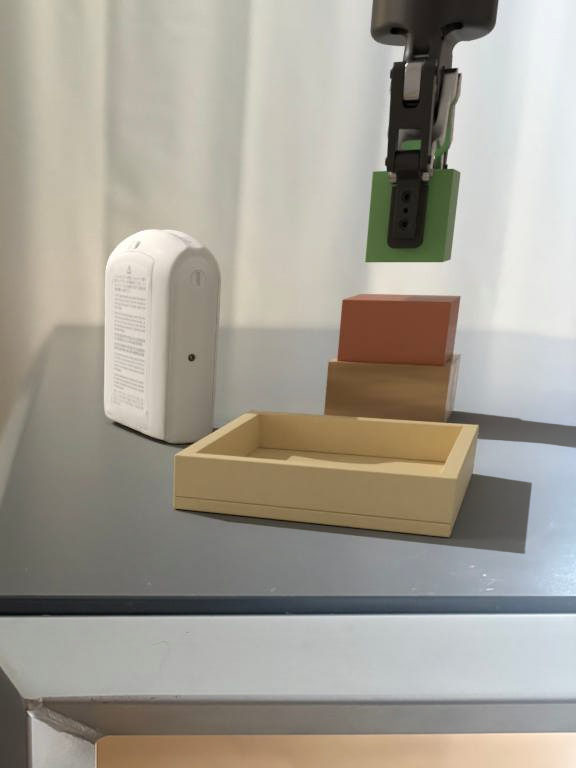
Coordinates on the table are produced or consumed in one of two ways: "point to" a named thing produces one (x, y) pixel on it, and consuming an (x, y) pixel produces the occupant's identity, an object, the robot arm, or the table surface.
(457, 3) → the robot arm
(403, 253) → the green block
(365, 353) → the middle block
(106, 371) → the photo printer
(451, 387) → the base block
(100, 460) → the table surface
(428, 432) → the tray
